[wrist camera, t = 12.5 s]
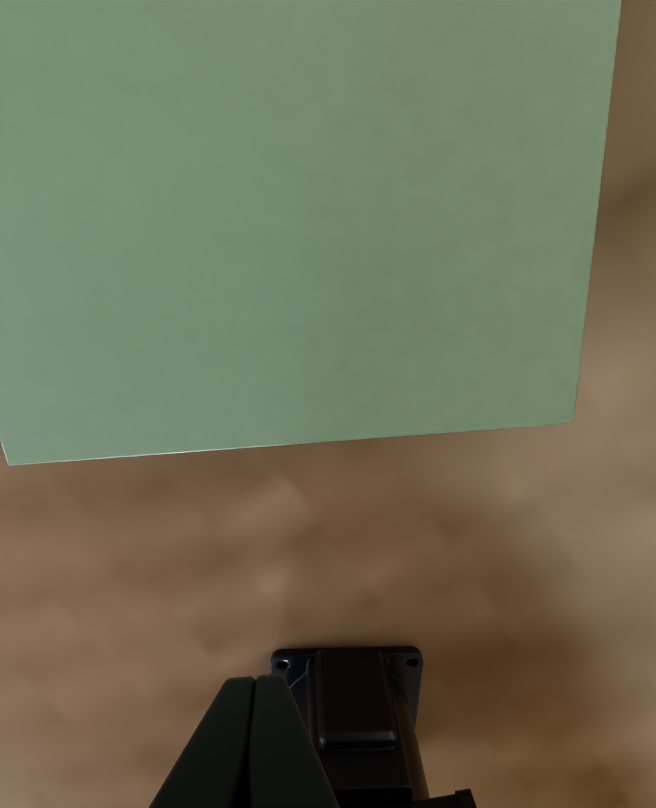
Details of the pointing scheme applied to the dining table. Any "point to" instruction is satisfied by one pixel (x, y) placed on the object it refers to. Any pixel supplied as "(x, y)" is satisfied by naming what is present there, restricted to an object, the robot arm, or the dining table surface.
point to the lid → (294, 219)
